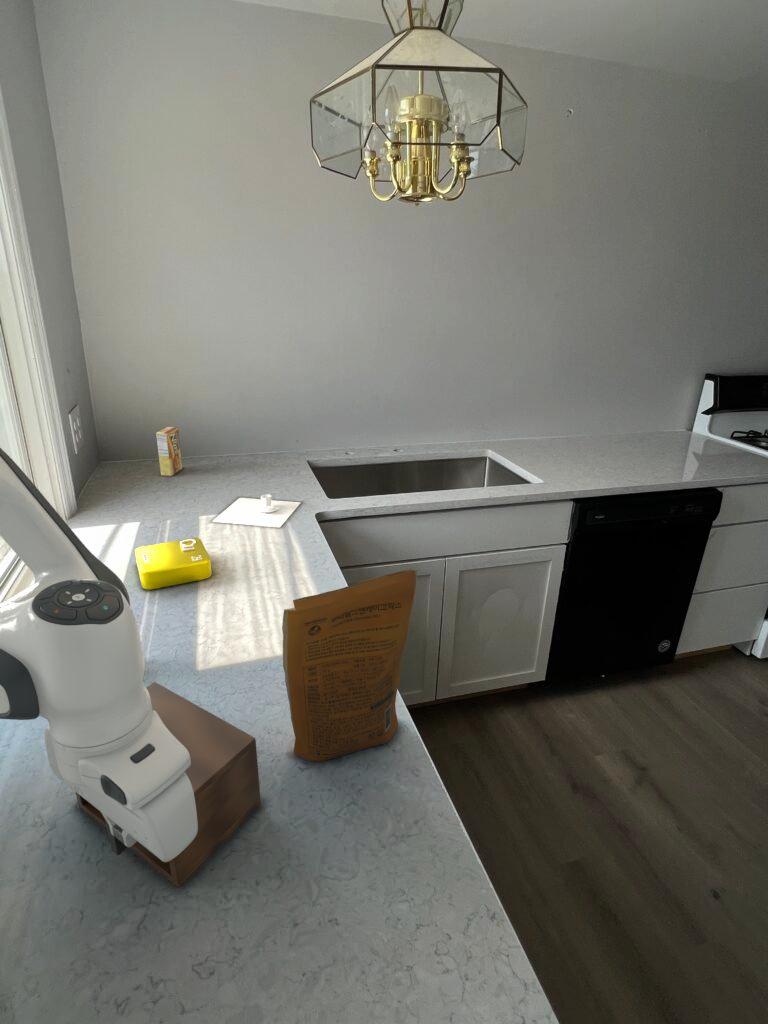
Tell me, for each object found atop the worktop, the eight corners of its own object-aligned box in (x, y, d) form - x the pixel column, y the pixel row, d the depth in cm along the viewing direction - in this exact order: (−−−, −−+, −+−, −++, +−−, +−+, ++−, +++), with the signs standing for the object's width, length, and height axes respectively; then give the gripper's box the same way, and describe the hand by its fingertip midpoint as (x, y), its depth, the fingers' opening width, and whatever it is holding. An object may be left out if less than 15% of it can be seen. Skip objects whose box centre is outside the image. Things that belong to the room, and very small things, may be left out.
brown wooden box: (178, 888, 62) (166, 816, 58) (78, 807, 71) (62, 740, 67) (260, 803, 72) (255, 737, 68) (164, 742, 81) (154, 681, 77)
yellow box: (136, 563, 133) (133, 545, 131) (201, 551, 139) (199, 534, 137) (143, 592, 120) (139, 572, 119) (213, 578, 127) (211, 559, 125)
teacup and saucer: (274, 515, 162) (273, 502, 160) (248, 513, 163) (247, 500, 162) (284, 505, 170) (283, 492, 169) (259, 503, 171) (258, 490, 170)
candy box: (171, 468, 201) (166, 426, 196) (183, 468, 201) (178, 427, 195) (160, 475, 193) (154, 432, 188) (172, 476, 193) (167, 433, 187)
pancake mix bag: (418, 744, 82) (429, 576, 72) (291, 781, 75) (282, 602, 65) (400, 713, 88) (407, 554, 77) (280, 745, 81) (271, 576, 71)
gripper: (17, 713, 57) (44, 811, 62) (144, 808, 47) (163, 915, 52) (76, 680, 62) (96, 773, 67) (202, 760, 52) (215, 861, 57)
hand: (127, 836), depth 60 cm, fingers closed
